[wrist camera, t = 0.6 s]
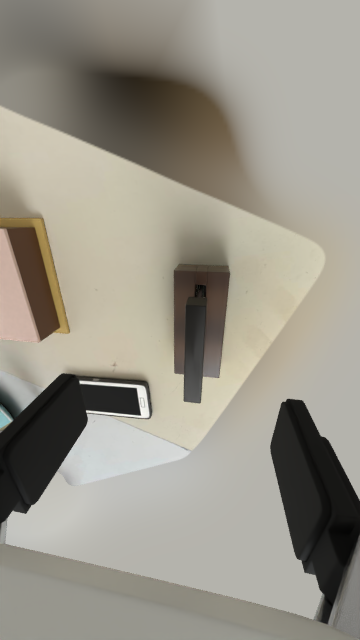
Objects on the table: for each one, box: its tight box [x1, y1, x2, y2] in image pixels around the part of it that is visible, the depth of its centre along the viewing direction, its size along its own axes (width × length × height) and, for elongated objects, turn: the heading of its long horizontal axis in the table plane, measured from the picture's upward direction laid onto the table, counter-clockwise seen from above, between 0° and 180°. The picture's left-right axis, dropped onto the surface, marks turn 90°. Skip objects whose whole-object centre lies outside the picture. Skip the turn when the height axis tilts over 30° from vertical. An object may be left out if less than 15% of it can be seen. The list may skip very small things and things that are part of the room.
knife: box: [184, 285, 208, 403], centre depth 25 cm, size 11×2×10 cm, turn 0°
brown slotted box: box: [174, 264, 230, 378], centre depth 28 cm, size 14×6×4 cm, turn 0°
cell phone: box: [77, 377, 152, 419], centre depth 38 cm, size 8×15×1 cm, turn 92°
